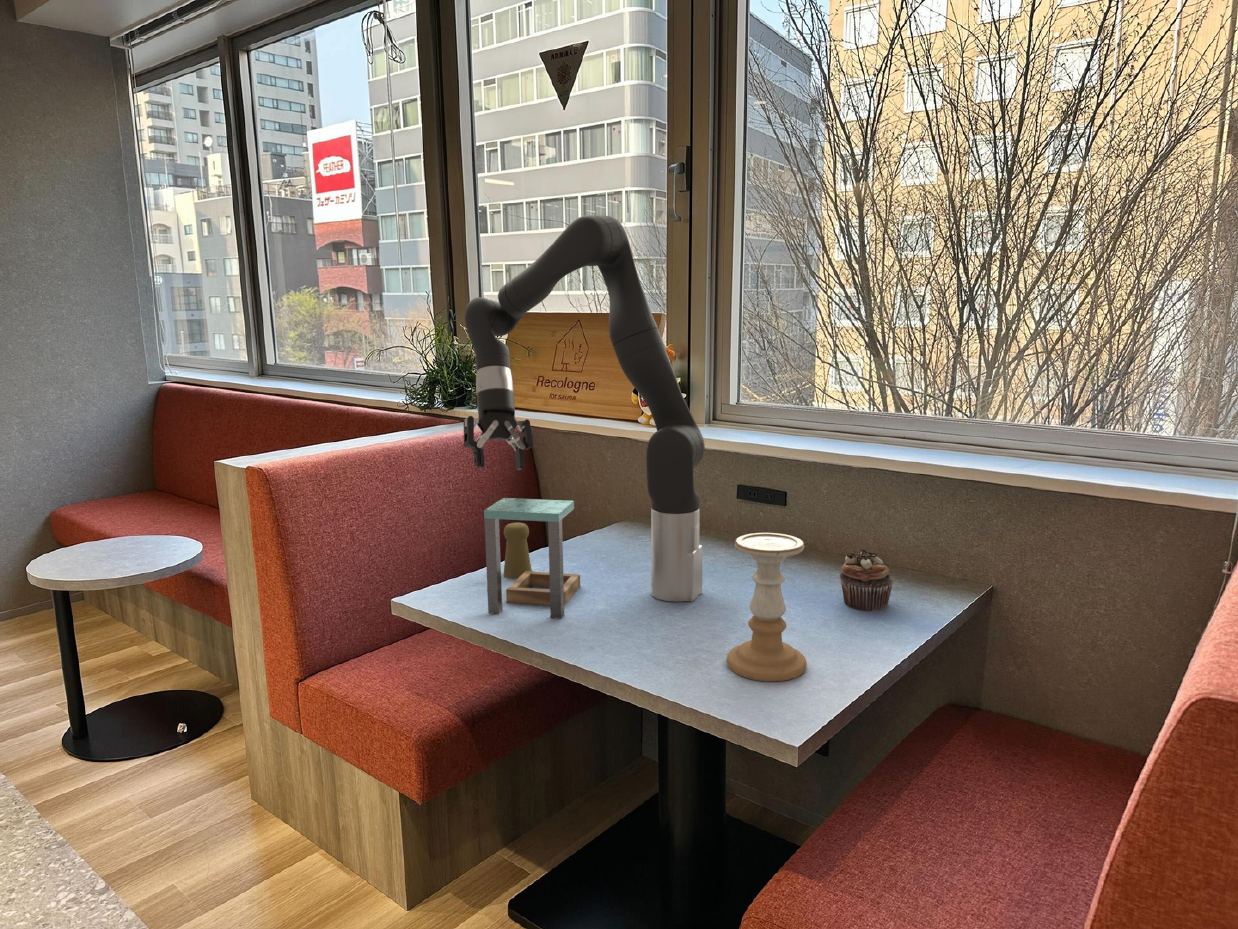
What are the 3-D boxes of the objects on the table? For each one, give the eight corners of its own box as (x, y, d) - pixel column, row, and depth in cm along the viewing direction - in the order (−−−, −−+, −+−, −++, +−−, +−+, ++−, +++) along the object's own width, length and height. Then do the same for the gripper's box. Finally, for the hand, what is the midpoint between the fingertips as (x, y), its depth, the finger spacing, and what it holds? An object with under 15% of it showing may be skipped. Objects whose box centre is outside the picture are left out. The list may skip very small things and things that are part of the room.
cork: (527, 579, 176) (525, 528, 174) (499, 578, 177) (497, 526, 175) (535, 570, 181) (534, 520, 179) (508, 569, 183) (507, 519, 181)
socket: (526, 582, 174) (525, 571, 173) (580, 586, 171) (580, 574, 171) (506, 602, 163) (506, 589, 162) (564, 606, 160) (564, 593, 160)
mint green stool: (507, 595, 166) (503, 497, 163) (576, 599, 163) (573, 500, 160) (488, 613, 157) (484, 510, 153) (561, 618, 154) (558, 513, 150)
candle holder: (713, 671, 131) (715, 545, 127) (745, 644, 141) (747, 526, 138) (789, 689, 125) (793, 557, 121) (817, 659, 135) (821, 537, 131)
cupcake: (878, 616, 153) (880, 563, 151) (829, 604, 159) (831, 553, 158) (901, 603, 160) (904, 551, 158) (853, 591, 166) (856, 542, 165)
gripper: (469, 383, 168) (474, 463, 165) (534, 389, 176) (540, 465, 173) (455, 394, 175) (460, 472, 171) (518, 399, 182) (524, 473, 179)
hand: (500, 468), depth 172 cm, fingers open, 8 cm apart
